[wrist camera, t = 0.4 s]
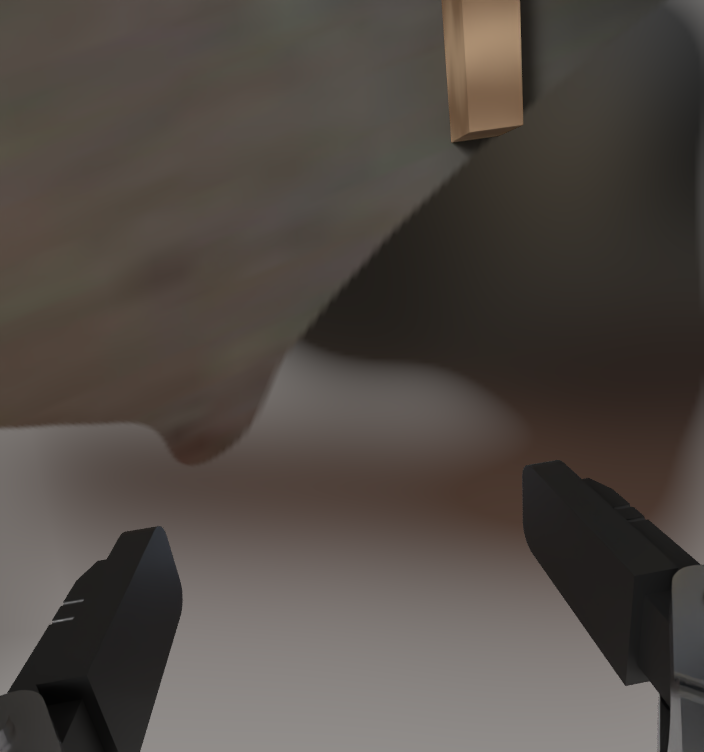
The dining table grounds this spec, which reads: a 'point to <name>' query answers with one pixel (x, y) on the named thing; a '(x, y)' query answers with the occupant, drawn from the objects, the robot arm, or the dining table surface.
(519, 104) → the walnut bar
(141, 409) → the dining table surface
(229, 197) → the dining table surface
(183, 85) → the dining table surface
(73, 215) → the dining table surface
